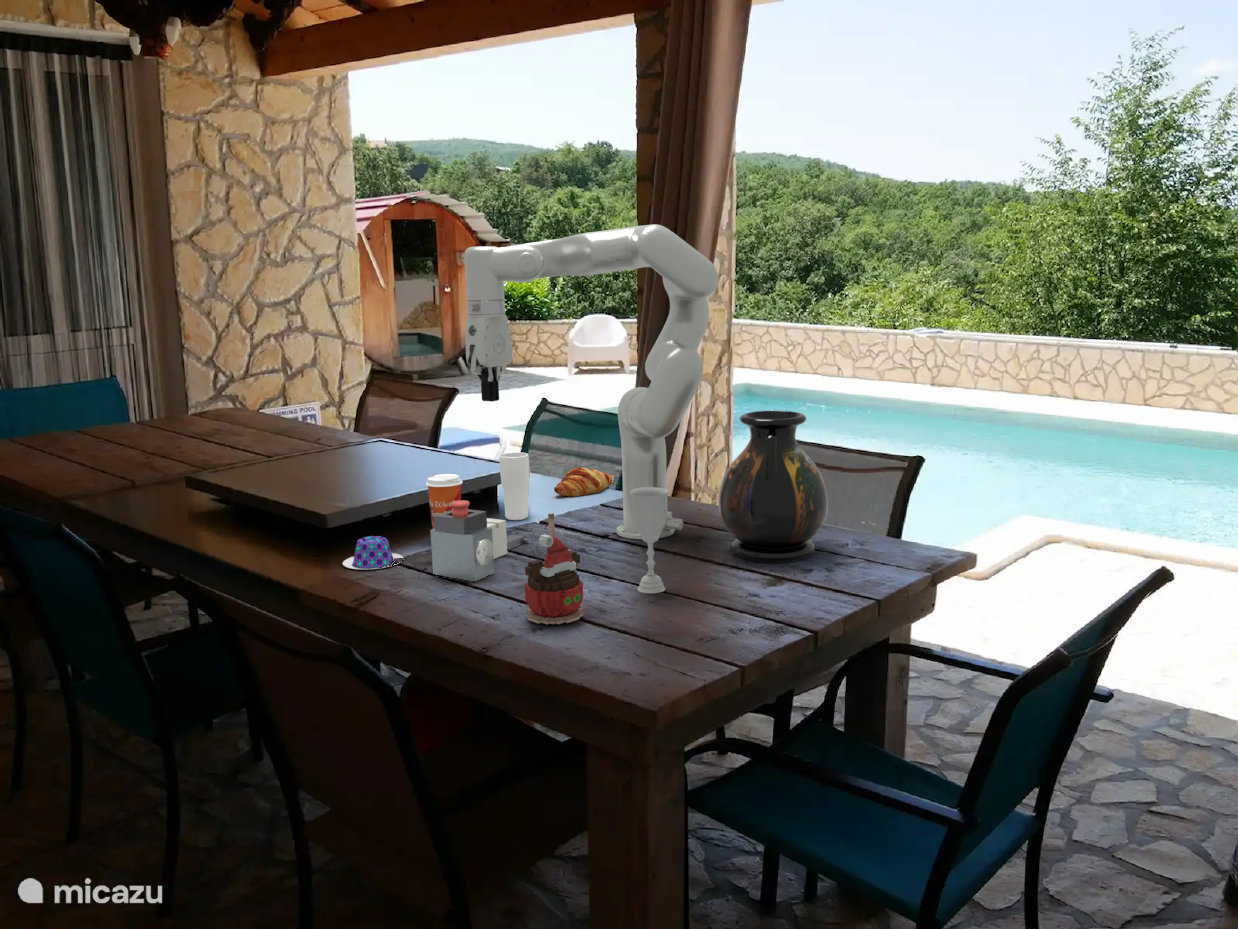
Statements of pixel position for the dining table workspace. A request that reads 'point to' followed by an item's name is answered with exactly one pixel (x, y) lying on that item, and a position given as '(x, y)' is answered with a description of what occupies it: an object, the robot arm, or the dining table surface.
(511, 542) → the rail
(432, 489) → the paper cup
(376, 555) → the purple patterned hat
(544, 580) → the christmas candy apple
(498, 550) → the white taped box
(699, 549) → the dining table surface
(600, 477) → the croissant
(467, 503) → the button
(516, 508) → the drinking glass
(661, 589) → the chalice
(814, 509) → the black painted vase
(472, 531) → the cabinet
